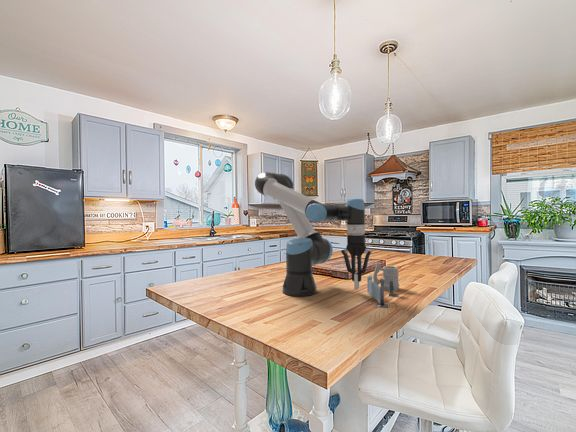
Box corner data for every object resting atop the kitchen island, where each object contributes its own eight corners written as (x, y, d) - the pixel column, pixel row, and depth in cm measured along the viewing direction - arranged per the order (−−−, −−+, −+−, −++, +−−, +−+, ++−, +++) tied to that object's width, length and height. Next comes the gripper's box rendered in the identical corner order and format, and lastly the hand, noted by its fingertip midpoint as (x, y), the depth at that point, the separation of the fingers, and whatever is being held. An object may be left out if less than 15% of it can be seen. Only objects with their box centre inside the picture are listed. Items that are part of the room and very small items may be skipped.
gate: (367, 291, 122) (366, 274, 121) (371, 291, 122) (371, 274, 121) (379, 303, 105) (379, 284, 105) (383, 303, 105) (383, 284, 105)
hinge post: (375, 306, 104) (375, 279, 103) (377, 303, 107) (377, 277, 107) (387, 308, 102) (387, 280, 102) (388, 305, 105) (388, 278, 105)
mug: (401, 290, 124) (401, 264, 124) (375, 290, 125) (374, 264, 125) (396, 286, 132) (396, 261, 132) (371, 286, 133) (370, 261, 133)
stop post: (388, 296, 117) (388, 281, 117) (389, 293, 120) (389, 279, 120) (396, 297, 115) (396, 282, 115) (397, 294, 119) (397, 280, 119)
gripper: (338, 234, 120) (339, 289, 120) (369, 235, 114) (370, 292, 114) (343, 233, 127) (344, 285, 127) (373, 234, 121) (373, 288, 121)
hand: (356, 288), depth 121 cm, fingers closed
